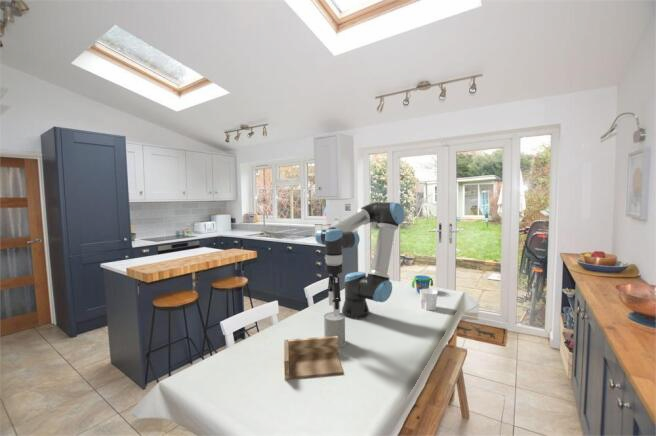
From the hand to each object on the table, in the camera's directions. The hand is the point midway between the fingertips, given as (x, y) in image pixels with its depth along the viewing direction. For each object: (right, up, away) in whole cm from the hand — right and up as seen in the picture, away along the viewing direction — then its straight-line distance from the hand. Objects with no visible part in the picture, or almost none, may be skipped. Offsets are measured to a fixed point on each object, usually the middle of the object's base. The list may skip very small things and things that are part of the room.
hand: (334, 310), depth 139 cm
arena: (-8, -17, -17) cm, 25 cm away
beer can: (0, -15, +1) cm, 15 cm away
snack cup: (+62, -9, +72) cm, 96 cm away
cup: (+56, -11, +42) cm, 71 cm away
